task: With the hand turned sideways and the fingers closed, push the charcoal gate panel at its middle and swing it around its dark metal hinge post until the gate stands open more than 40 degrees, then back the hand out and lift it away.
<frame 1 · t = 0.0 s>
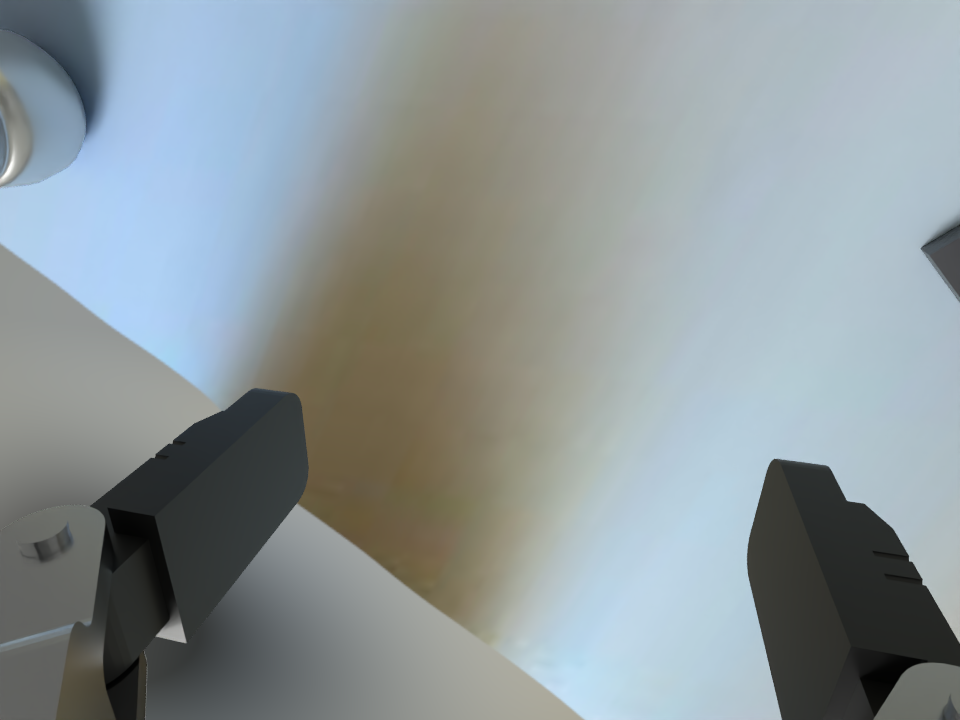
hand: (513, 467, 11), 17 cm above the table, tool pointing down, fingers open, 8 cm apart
plastic bottle: (47, 101, 29), on the table
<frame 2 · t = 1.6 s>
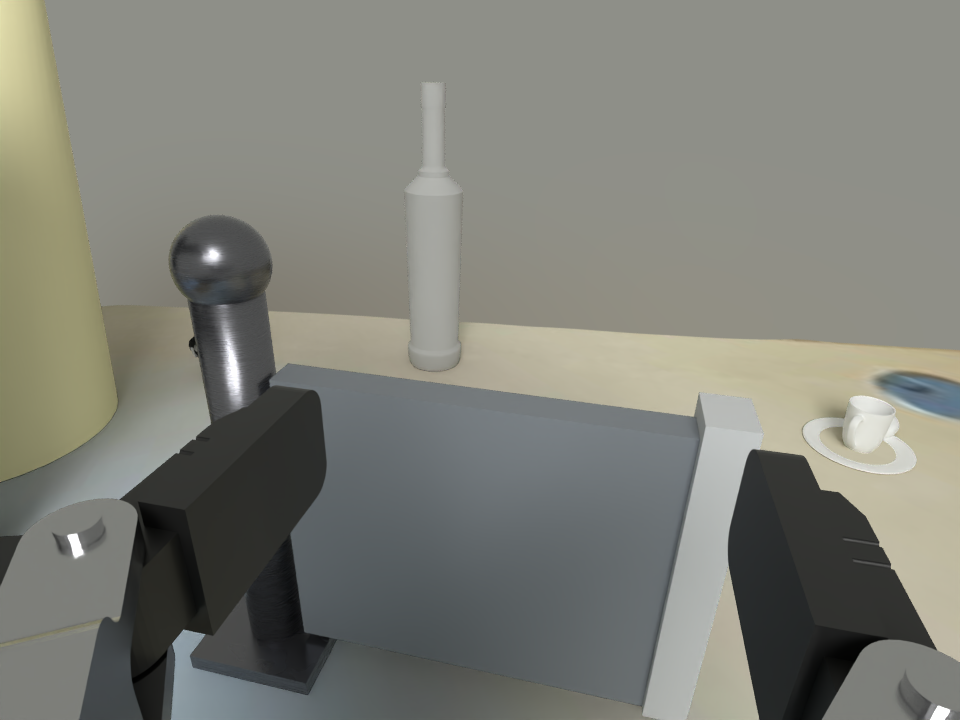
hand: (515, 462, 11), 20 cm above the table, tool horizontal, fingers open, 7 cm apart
bottle: (434, 362, 61), on the table
cone light: (21, 408, 51), on the table
gate post: (281, 629, 32), on the table
gate: (492, 537, 26), point 9 cm above the table, hinge at 0.0°
teacup and saucer: (898, 458, 48), on the table
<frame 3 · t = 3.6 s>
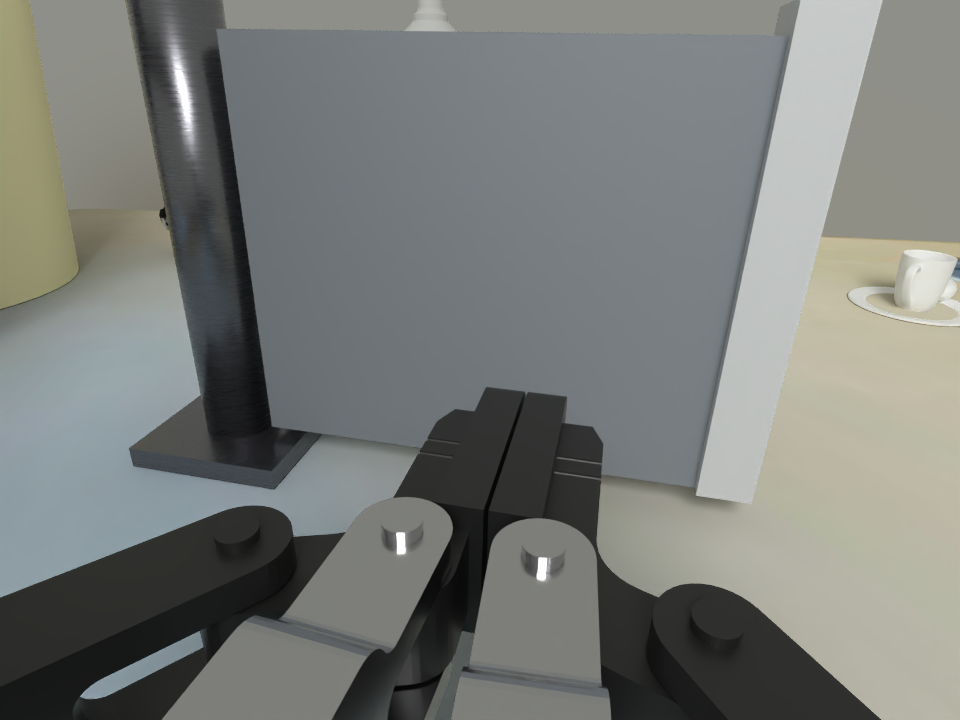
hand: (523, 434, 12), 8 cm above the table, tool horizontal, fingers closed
bottle: (432, 248, 55), on the table
gate post: (245, 436, 26), on the table
gate: (504, 259, 20), point 9 cm above the table, hinge at 0.0°
teacup and saucer: (958, 320, 43), on the table
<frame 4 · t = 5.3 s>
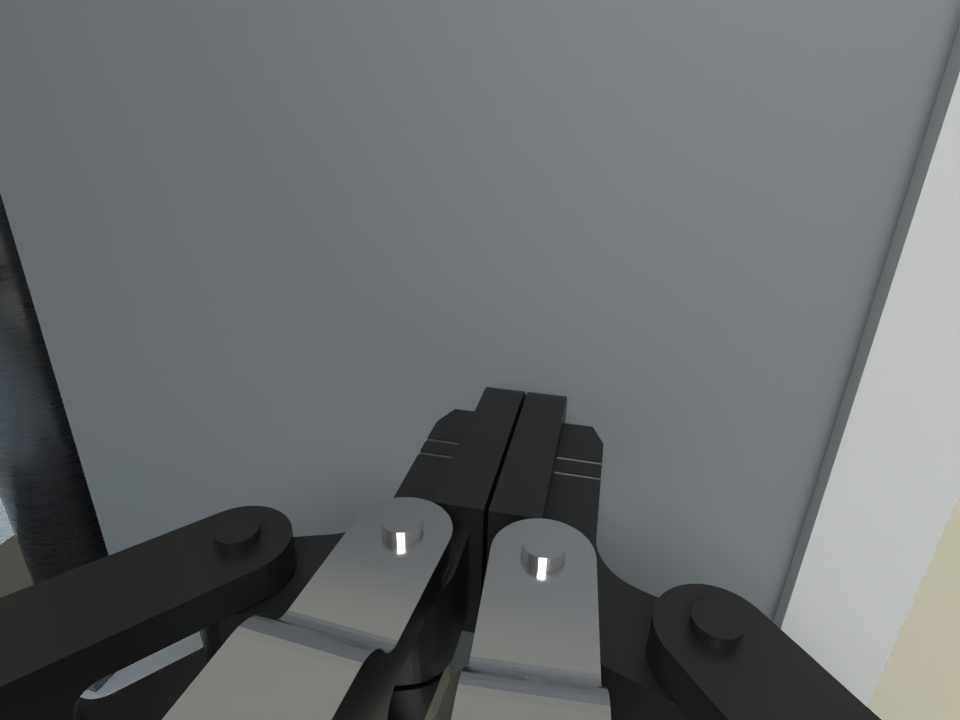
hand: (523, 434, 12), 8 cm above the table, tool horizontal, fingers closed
gate post: (95, 579, 19), on the table
gate: (429, 374, 12), point 9 cm above the table, hinge at 0.0°, touching gripper
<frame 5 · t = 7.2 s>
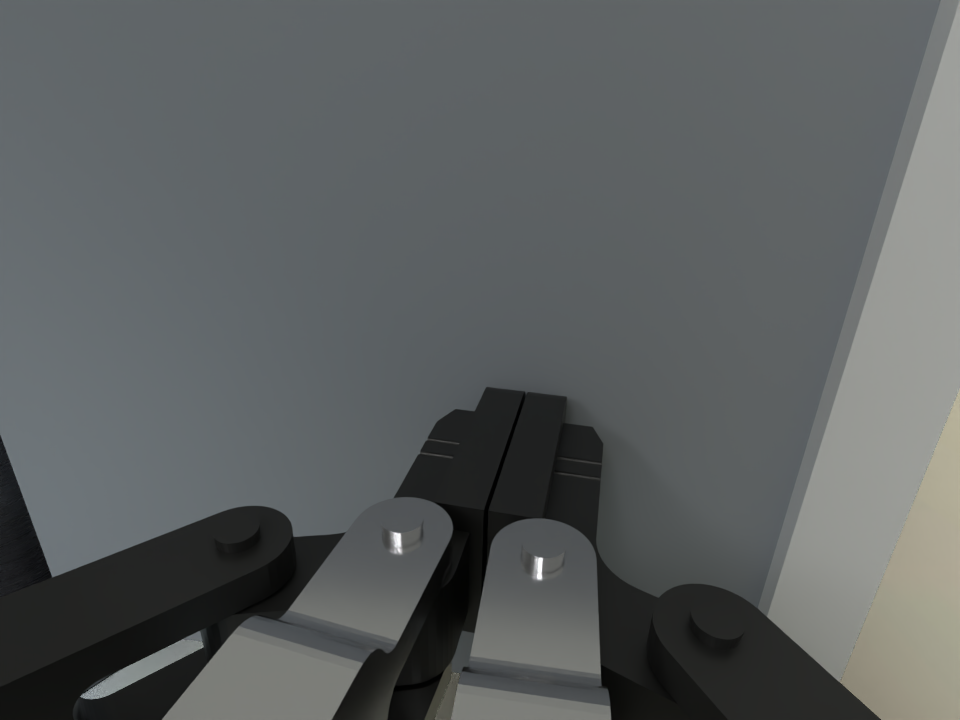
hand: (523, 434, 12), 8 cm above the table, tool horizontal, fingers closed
gate post: (40, 626, 17), on the table
gate: (419, 379, 12), point 9 cm above the table, hinge at 31.6°, touching gripper
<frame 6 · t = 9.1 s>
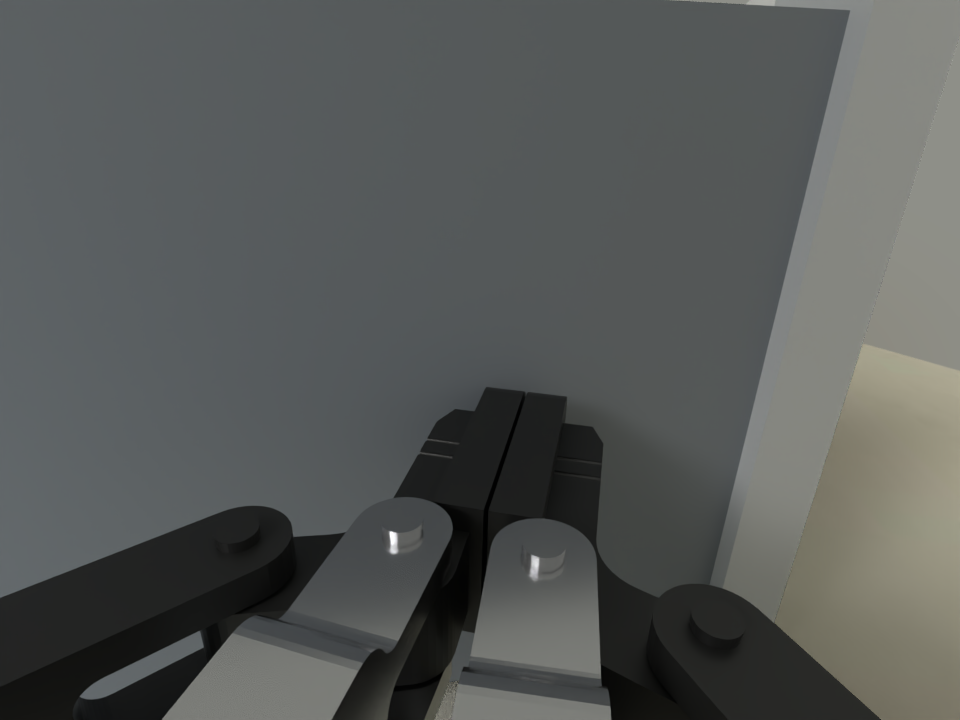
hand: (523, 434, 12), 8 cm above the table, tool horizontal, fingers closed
gate: (405, 391, 12), point 9 cm above the table, hinge at 65.2°, touching gripper
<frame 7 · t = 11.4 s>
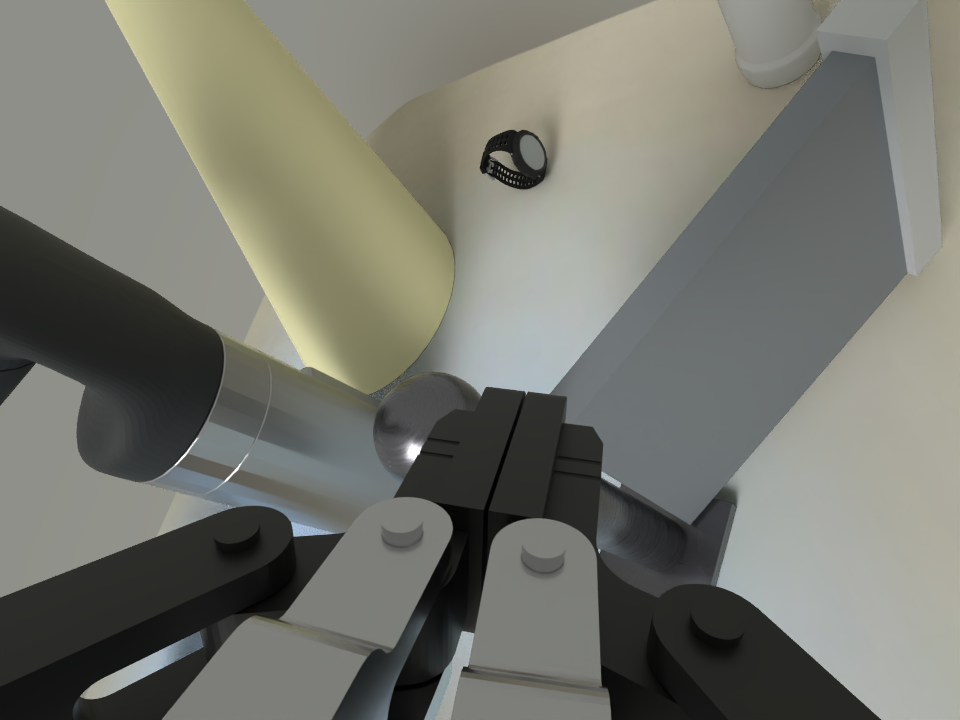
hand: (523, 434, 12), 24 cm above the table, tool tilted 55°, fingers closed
bottle: (783, 61, 41), on the table
cone light: (389, 276, 57), on the table
gate post: (664, 545, 33), on the table
gate: (758, 313, 26), point 9 cm above the table, hinge at 65.3°
smartwatch: (532, 179, 51), on the table
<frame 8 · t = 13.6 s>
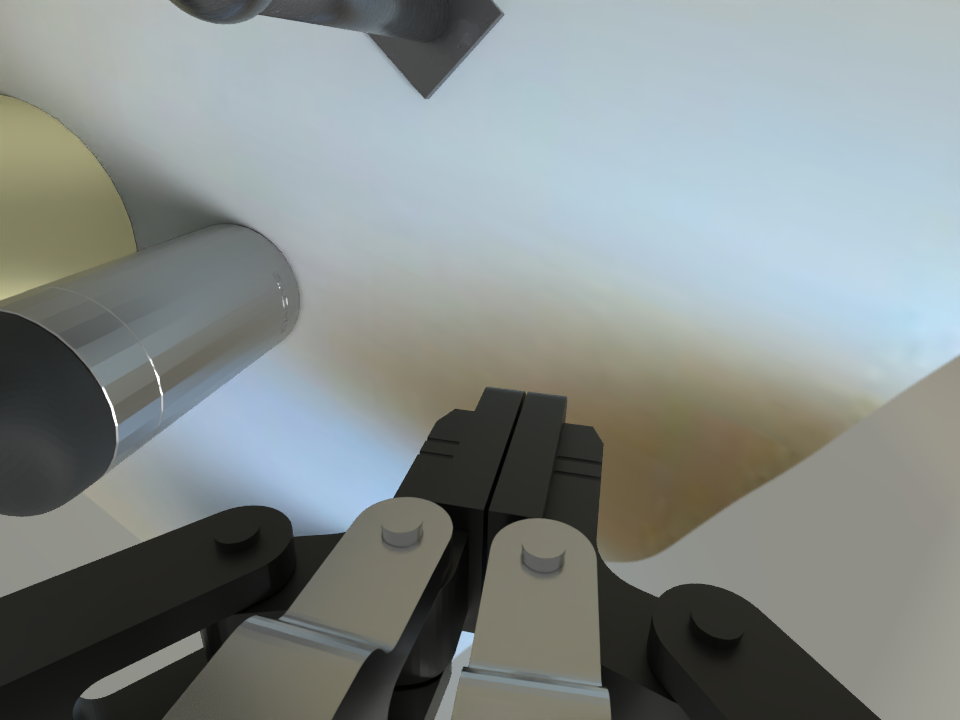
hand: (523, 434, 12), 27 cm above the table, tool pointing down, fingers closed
gate post: (428, 14, 34), on the table
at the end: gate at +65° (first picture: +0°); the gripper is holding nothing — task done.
